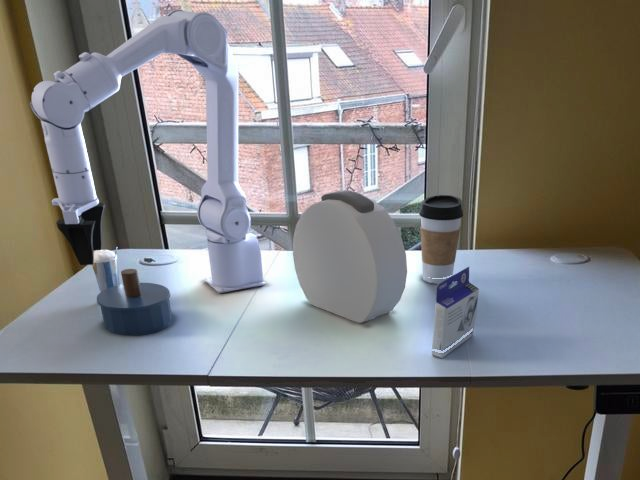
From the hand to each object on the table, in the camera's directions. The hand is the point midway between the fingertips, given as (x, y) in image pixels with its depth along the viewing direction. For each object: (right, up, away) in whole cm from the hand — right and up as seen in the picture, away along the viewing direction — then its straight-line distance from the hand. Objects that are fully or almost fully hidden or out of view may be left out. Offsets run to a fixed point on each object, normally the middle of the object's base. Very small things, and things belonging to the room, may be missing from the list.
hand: (91, 256), depth 123 cm
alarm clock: (+43, -6, +10) cm, 45 cm away
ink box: (+61, -16, -2) cm, 63 cm away
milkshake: (0, -4, +12) cm, 12 cm away
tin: (+7, -10, +4) cm, 13 cm away
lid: (+7, -7, +1) cm, 10 cm away
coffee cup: (+60, +4, +23) cm, 65 cm away
